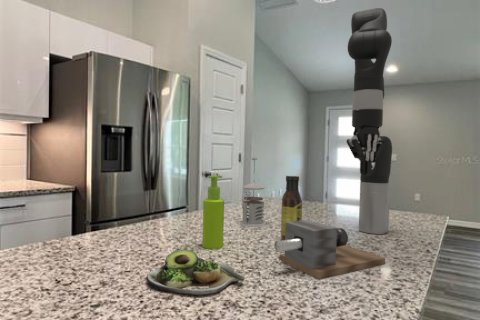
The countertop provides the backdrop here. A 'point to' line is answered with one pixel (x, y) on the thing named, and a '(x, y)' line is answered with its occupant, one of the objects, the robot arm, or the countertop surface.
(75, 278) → the countertop surface
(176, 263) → the salad plate
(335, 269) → the bearing block
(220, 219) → the soap dispenser
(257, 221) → the french press
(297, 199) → the sauce bottle
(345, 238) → the shaft
